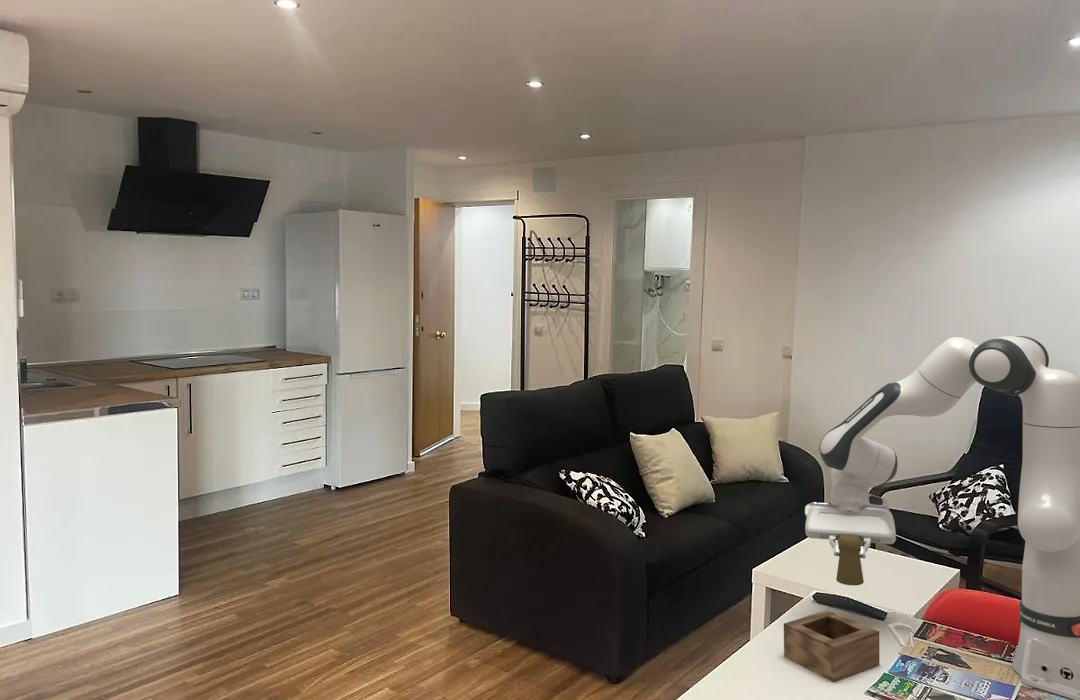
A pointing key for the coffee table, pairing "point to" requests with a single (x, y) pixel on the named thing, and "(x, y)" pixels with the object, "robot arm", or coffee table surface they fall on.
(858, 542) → the cork
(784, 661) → the coffee table surface
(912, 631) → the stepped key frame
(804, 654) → the walnut box
